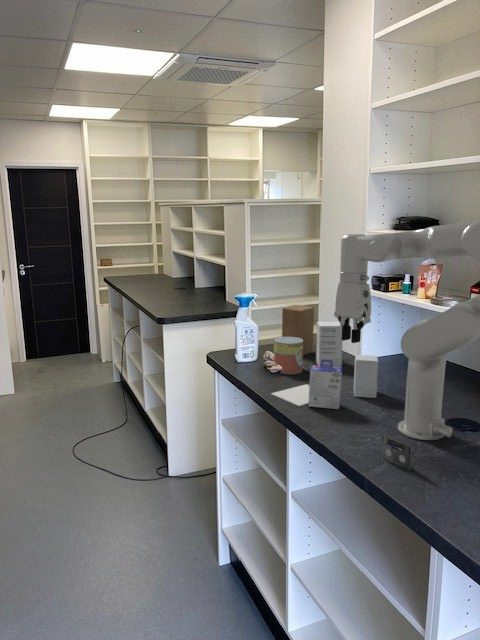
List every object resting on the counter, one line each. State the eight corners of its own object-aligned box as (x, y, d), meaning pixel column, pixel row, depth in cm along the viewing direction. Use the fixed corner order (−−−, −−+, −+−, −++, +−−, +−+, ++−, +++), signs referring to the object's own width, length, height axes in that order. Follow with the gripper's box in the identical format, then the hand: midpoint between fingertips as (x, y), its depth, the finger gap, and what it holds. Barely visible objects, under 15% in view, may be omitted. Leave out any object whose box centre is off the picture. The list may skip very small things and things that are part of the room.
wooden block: (281, 353, 225) (281, 307, 221) (294, 348, 233) (295, 304, 229) (300, 357, 219) (301, 310, 215) (313, 352, 226) (314, 307, 222)
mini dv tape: (412, 469, 123) (414, 445, 121) (408, 471, 122) (410, 447, 121) (385, 456, 129) (386, 434, 128) (381, 458, 128) (382, 435, 127)
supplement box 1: (342, 367, 203) (343, 326, 200) (318, 367, 203) (319, 326, 200) (337, 361, 213) (339, 321, 209) (315, 361, 213) (316, 321, 209)
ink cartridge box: (339, 403, 165) (343, 359, 162) (340, 410, 160) (343, 365, 156) (308, 400, 167) (311, 357, 163) (307, 407, 161) (310, 362, 158)
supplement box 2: (376, 398, 170) (378, 361, 167) (353, 396, 171) (355, 360, 169) (375, 390, 177) (377, 355, 174) (353, 389, 178) (354, 354, 176)
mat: (335, 396, 171) (335, 395, 171) (298, 406, 162) (299, 405, 162) (306, 385, 183) (306, 384, 183) (270, 394, 174) (271, 393, 173)
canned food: (295, 375, 193) (296, 344, 191) (268, 371, 199) (268, 341, 197) (307, 368, 203) (307, 338, 201) (281, 364, 208) (281, 335, 206)
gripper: (385, 280, 142) (381, 344, 146) (341, 274, 156) (339, 334, 159) (366, 282, 138) (363, 348, 142) (323, 276, 151) (321, 337, 155)
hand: (350, 340), depth 151 cm, fingers open, 3 cm apart
